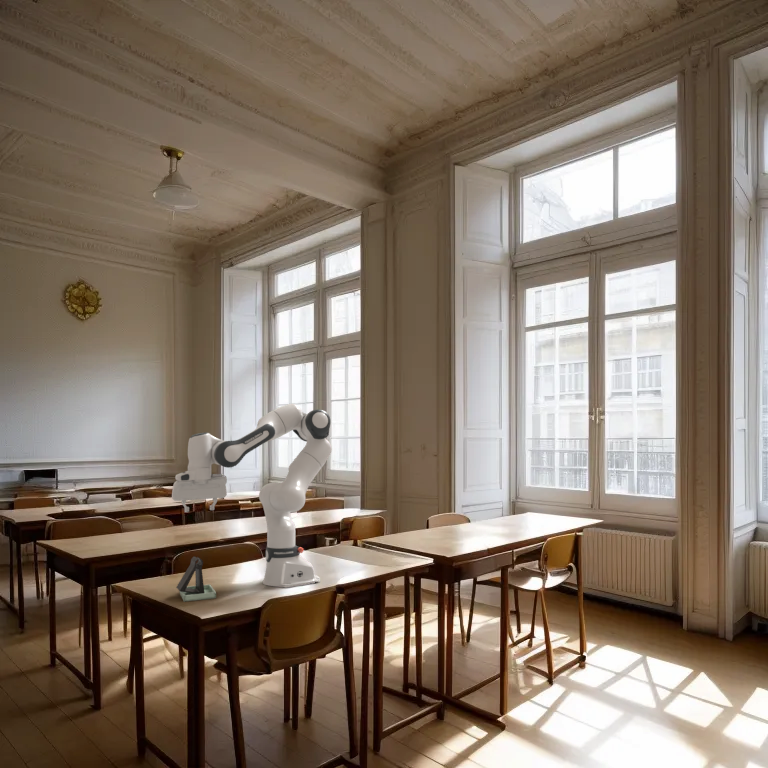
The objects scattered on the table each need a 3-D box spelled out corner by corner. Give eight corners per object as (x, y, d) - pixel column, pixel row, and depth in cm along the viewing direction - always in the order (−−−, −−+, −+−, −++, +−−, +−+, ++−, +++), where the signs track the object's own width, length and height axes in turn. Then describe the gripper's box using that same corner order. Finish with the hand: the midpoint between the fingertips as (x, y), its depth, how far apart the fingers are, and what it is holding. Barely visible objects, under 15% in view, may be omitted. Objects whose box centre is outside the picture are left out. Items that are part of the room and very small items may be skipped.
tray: (210, 589, 243) (210, 584, 243) (216, 598, 231) (216, 592, 231) (179, 592, 239) (179, 587, 239) (183, 601, 227) (183, 595, 227)
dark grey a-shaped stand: (200, 590, 240) (207, 557, 242) (204, 594, 235) (211, 560, 237) (176, 587, 236) (184, 554, 238) (179, 591, 231) (187, 557, 233)
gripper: (225, 473, 255) (225, 508, 254) (171, 475, 246) (171, 512, 245) (228, 474, 249) (228, 510, 248) (173, 476, 240) (173, 514, 240)
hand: (199, 511), depth 247 cm, fingers open, 8 cm apart
